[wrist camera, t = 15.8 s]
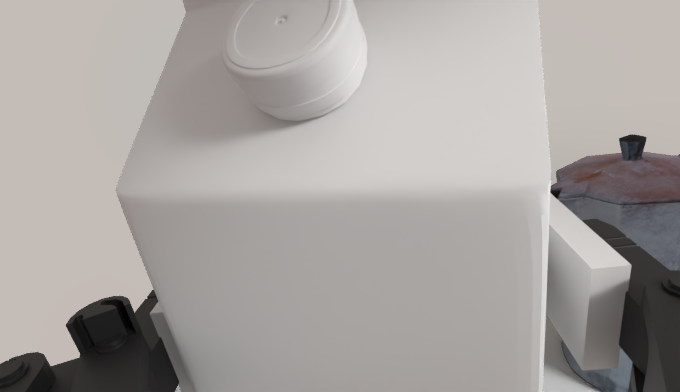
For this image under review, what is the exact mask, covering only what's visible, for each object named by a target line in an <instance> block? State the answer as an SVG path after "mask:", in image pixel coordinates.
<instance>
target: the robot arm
mask: <svg viewBox="0 0 680 392" xmlns="http://www.w3.org/2000/svg"><path fill="white" fill-rule="evenodd" d="M546 315H547V316H548V318H549V319H550V321H551V323H552V324H553V326H554V327H555V329H556V330H557V332H558V333H559V335H560V337H561V338H562V340H563V341H564V343H565V344H566V346H567V348H568V349H569V351H570V352H571V354H572V355H573V357H574V358H575V360H576V362H577V363H578V365H579V366H580V368H581V369H582V371H584V370H597V369H610V368H618V361H619V354H620V347H621V348H622V350H623V351H624V352H625V353H626V354H627V356H628V357H629V358H630V359H631V361H632V362H633V363H632V369H631V376H630V382H629V389H628V392H680V271H678V270H669V269H668V268H666V267H665V266H664V265H663V264H661V263H660V262H659V261H658V260H656V259H655V258H654V257H652V256H651V255H650V254H649V253H647V252H646V251H645V250H644V249H642V248H641V247H640V246H637V244H636V243H635V242H634V241H632V240H631V239H630V238H627V237H626V235H625V234H623V233H622V232H621V231H620V230H618V229H617V228H616V227H615V226H613V225H610V224H608V223H605V222H603V221H600V220H598V219H588V220H580V219H579V218H578V217H577V216H576V215H575V214H573V213H572V212H571V211H570V210H569V209H568V208H567V207H566V206H564V205H563V204H562V203H561V202H560V201H559V200H558V199H557V198H555V197H554V196H553V195H552V194H551V193H550V216H549V243H548V270H547V296H546ZM66 327H67V329H68V331H69V333H70V334H71V337H72V339H73V341H74V342H75V344H76V346H77V348H78V350H79V352H80V358H77V359H74V360H71V361H67V362H64V363H61V364H57V365H54V366H50V365H49V363H48V361H47V359H46V357H45V356H44V354H41V353H38V352H35V353H27V354H24V355H21V356H17V357H14V358H11V359H9V361H5V362H3V363H1V364H0V392H175V390H176V388H177V386H178V384H179V387H180V389H181V392H195V391H194V389H193V386H192V384H191V381H190V379H189V376H188V374H187V371H186V369H185V366H184V364H183V361H182V359H181V356H180V354H179V351H178V349H177V346H176V344H175V341H174V339H173V336H172V334H171V331H170V329H169V326H168V324H167V321H166V319H165V316H164V314H163V311H162V309H161V306H160V304H159V301H158V299H157V296H156V294H155V291H154V290H152V292H151V293H150V294H149V296H148V299H145V301H144V302H143V303H142V304H141V306H140V307H139V308H138V309H137V311H136V312H135V313H134V311H133V308H132V306H131V304H130V301H129V299H128V298H126V297H123V296H113V297H109V298H104V299H101V300H99V301H96V302H94V303H92V304H89V305H88V306H86V307H84V308H83V309H81V310H79V311H78V312H77V313H76V314H75V315H74V316H72V317H71V318H70V320H69V321H68V323H67V324H66Z"/></svg>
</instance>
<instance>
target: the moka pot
mask: <svg viewBox="0 0 680 392" xmlns="http://www.w3.org/2000/svg"><path fill="white" fill-rule="evenodd" d="M619 141H620V147H621V151H622V153H616V154H605V155H595V156H587V157H584V158H582V159H580V160H578V161H576V162H574V163H572V164H570V165H567V166H565V167H563V168H561V169H559V170H557V171H556V177H557V183H555V184H553V185H552V186H551V189H550V193H551V194H552V195H553V196H554V197H555V198H557V199H558V200H559V201H560V202H561V203H562V204H563V205H564V206H566V207H567V208H568V209H569V210H570V211H571V212H572V213H573V214H575V215H576V216H577V217H578V218H579V219H580V220H588V219H598V220H600V221H603V222H605V223H608V224H610V225H613V226H615V227H616V228H617V229H618V230H620V231H621V232H622V233H623V234H625V235H626V237H627V238H630V239H631V240H632V241H634V242H635V243H636V244H637V246H640V247H641V248H642V249H644V250H645V251H646V252H647V253H649V254H650V255H651V256H652V257H654V258H655V259H656V260H658V261H659V262H660V263H661V264H663V265H664V266H665V267H666V268H668V269H669V270H678V271H680V154H679V155H678V156H671V155H662V154H656V153H649V152H643V149H644V146H645V142H646V137H644V136H639V135H628V136H625V137H622V138H620V139H619ZM562 348H563V352H564V355H565V357H566V359H567V362H568V363H569V365H570V366H571V368H572V369H573V370H574V371H575V372H576V373H577V374H578V375H579V376H580V377H582V378H583V379H584V380H585V381H587V382H588V383H590V384H592V385H593V386H595V387H597V388H599V389H601V390H603V391H605V392H628V389H629V382H630V376H631V369H632V363H633V362H632V361H631V359H630V358H629V357H628V356H627V354H626V353H625V352H624V351H623V350H622V348H621V347H620V354H619V361H618V368H610V369H597V370H584V371H582V369H581V368H580V366H579V365H578V363H577V362H576V360H575V358H574V357H573V355H572V354H571V352H570V351H569V349H568V348H567V346H566V344H565V343H564V341H563V340H562Z"/></svg>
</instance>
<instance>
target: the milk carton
mask: <svg viewBox="0 0 680 392" xmlns="http://www.w3.org/2000/svg"><path fill="white" fill-rule="evenodd" d="M183 3H184V7H185V10H186V15H185V17H184V19H183V22H182V24H181V27H180V29H179V32H178V34H177V37H176V39H175V42H174V44H173V47H172V49H171V52H170V54H169V57H168V59H167V62H166V64H165V67H164V69H163V72H162V74H161V76H160V79H159V81H158V84H157V86H156V89H155V91H154V94H153V96H152V99H151V101H150V104H149V106H148V108H147V111H146V114H145V116H144V118H143V121H142V123H141V126H140V128H139V131H138V133H137V136H136V138H135V141H134V143H133V146H132V148H131V150H130V153H129V155H128V158H127V161H126V163H125V166H124V168H123V170H122V173H121V176H120V179H119V182H118V184H117V188H116V191H117V195H118V198H119V201H120V204H121V207H122V209H123V212H124V215H125V217H126V220H127V223H128V225H129V228H130V230H131V233H132V235H133V238H134V240H135V243H136V245H137V248H138V251H139V253H140V256H141V258H142V261H143V263H144V266H145V268H146V271H147V273H148V276H149V279H150V281H151V283H152V286H153V289H154V291H155V294H156V296H157V299H158V301H159V304H160V306H161V309H162V311H163V314H164V316H165V319H166V321H167V324H168V326H169V329H170V331H171V334H172V336H173V339H174V341H175V344H176V346H177V349H178V351H179V354H180V356H181V359H182V361H183V364H184V366H185V369H186V371H187V374H188V376H189V379H190V381H191V384H192V386H193V389H194V391H195V392H543V376H544V349H545V323H546V296H547V270H548V243H549V216H550V189H551V163H550V150H549V138H548V125H547V113H546V101H545V87H544V75H543V62H542V50H541V37H540V25H539V13H538V0H183Z"/></svg>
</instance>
